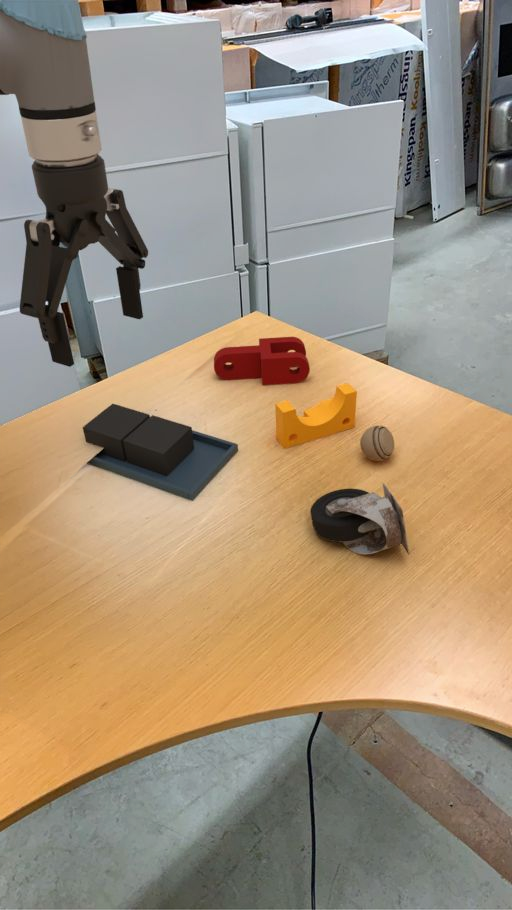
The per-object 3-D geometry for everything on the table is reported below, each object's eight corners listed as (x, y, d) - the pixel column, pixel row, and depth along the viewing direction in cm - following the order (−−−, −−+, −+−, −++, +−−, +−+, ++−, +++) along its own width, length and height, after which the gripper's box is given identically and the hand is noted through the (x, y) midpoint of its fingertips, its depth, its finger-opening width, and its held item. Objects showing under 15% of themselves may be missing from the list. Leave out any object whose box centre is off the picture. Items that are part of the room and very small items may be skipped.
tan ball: (369, 471, 91) (371, 443, 88) (353, 451, 95) (355, 423, 92) (400, 463, 92) (404, 434, 89) (384, 443, 96) (387, 415, 93)
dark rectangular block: (127, 462, 94) (122, 440, 92) (155, 436, 99) (152, 414, 97) (167, 476, 92) (163, 454, 89) (194, 449, 96) (191, 426, 94)
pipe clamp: (340, 412, 103) (341, 377, 99) (354, 426, 100) (356, 391, 96) (271, 433, 99) (270, 397, 95) (283, 448, 96) (283, 412, 92)
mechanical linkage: (304, 361, 116) (305, 335, 113) (309, 382, 110) (309, 356, 107) (215, 366, 116) (212, 341, 113) (215, 388, 110) (212, 362, 107)
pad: (87, 449, 97) (82, 427, 95) (117, 424, 102) (112, 403, 100) (124, 462, 94) (120, 440, 92) (153, 436, 99) (149, 414, 97)
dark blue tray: (72, 460, 96) (70, 451, 95) (123, 417, 104) (122, 408, 103) (192, 503, 88) (191, 494, 87) (238, 453, 96) (237, 443, 95)
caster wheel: (310, 527, 87) (382, 507, 87) (332, 578, 76) (413, 554, 77) (300, 485, 84) (374, 463, 84) (322, 532, 73) (406, 507, 74)
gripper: (5, 194, 59) (54, 394, 72) (164, 135, 76) (180, 305, 89) (-53, 184, 62) (4, 377, 75) (113, 129, 79) (136, 294, 92)
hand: (100, 338), depth 82 cm, fingers open, 13 cm apart
